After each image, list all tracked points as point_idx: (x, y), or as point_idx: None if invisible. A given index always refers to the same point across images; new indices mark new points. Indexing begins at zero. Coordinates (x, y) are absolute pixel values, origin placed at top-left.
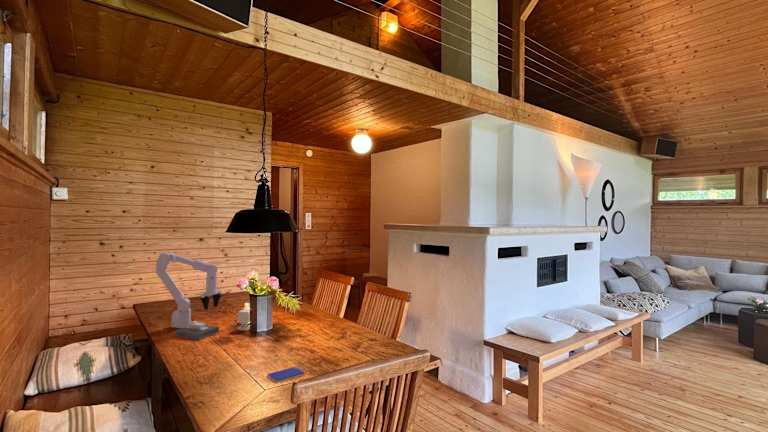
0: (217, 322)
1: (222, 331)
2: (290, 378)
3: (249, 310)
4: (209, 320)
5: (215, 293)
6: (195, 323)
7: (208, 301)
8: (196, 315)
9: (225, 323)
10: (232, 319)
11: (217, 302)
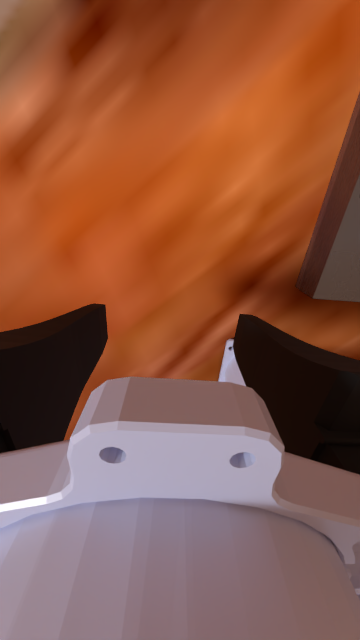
0: (130, 258)
1: (347, 21)
2: None
3: None
4: (114, 329)
5: (266, 415)
6: None
7: (303, 352)
8: (74, 428)
9: (127, 182)
10: (17, 204)
11: (82, 317)
